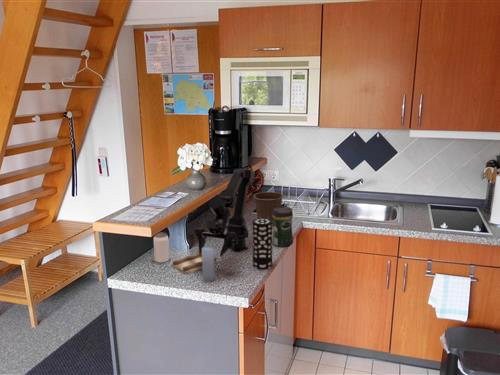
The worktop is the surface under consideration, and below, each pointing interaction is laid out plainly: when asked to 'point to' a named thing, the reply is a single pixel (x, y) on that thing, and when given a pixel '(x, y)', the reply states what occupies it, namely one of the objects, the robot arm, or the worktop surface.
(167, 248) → the can
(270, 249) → the white-spotted black cylinder
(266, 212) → the plant pot
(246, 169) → the robot arm
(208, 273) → the grey translucent cylinder
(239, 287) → the worktop surface
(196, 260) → the track
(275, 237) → the coffee jar
